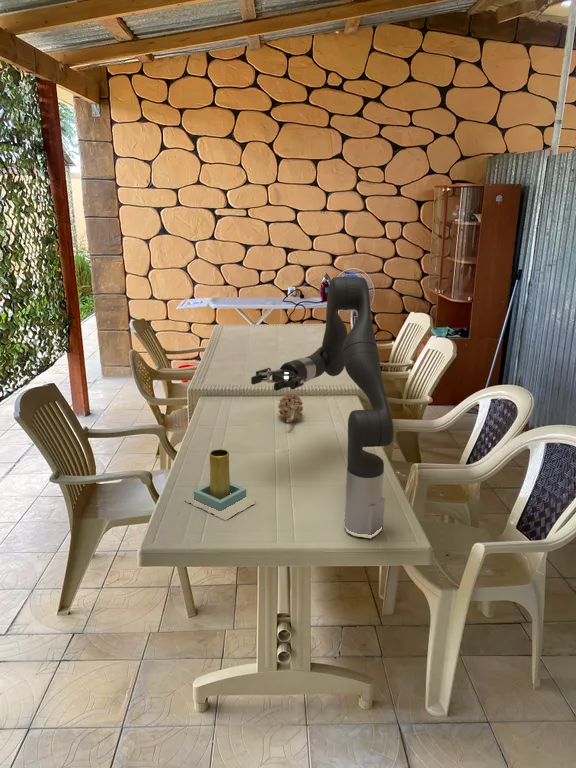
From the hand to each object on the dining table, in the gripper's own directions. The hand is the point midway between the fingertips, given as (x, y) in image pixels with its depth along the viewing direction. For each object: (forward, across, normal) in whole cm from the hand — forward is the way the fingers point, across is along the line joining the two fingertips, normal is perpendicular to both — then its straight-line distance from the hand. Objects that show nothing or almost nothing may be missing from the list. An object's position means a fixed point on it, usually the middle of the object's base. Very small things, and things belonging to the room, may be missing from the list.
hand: (263, 384), depth 174 cm
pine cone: (-44, -24, +32) cm, 59 cm away
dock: (+16, -2, +32) cm, 36 cm away
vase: (+16, -2, +31) cm, 35 cm away
